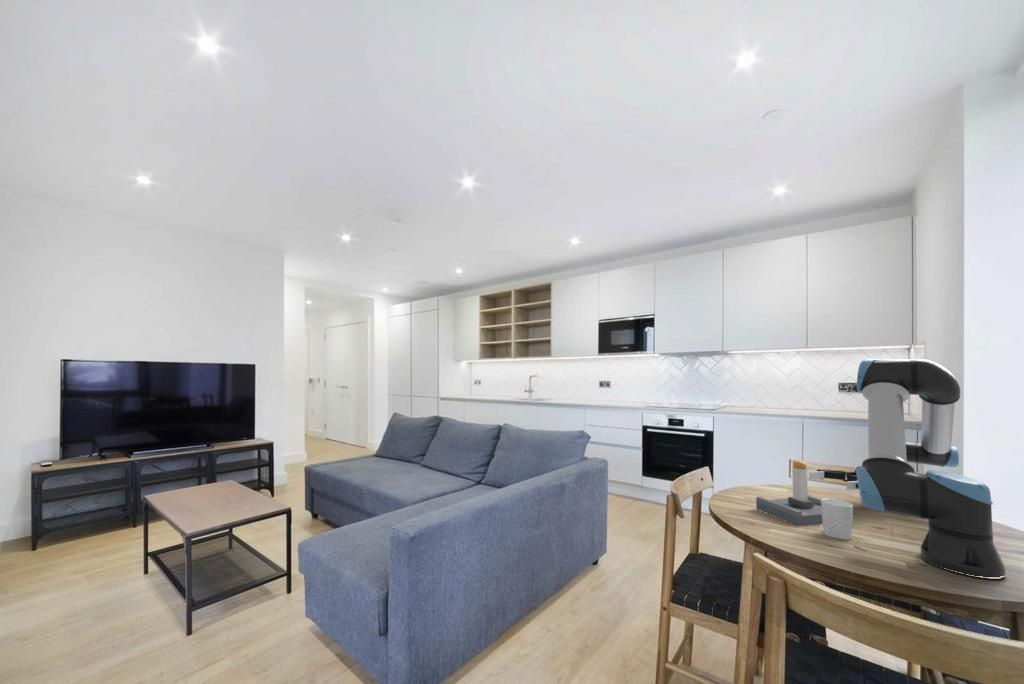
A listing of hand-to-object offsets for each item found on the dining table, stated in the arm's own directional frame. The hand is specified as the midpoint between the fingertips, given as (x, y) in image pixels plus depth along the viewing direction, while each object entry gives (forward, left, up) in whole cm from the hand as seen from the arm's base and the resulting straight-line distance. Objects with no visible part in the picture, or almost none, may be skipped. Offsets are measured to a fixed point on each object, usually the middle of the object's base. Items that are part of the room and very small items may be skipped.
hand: (827, 480), depth 151 cm
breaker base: (0, +14, -11) cm, 17 cm away
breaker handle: (0, +14, -8) cm, 16 cm away
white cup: (-17, +20, -11) cm, 29 cm away
